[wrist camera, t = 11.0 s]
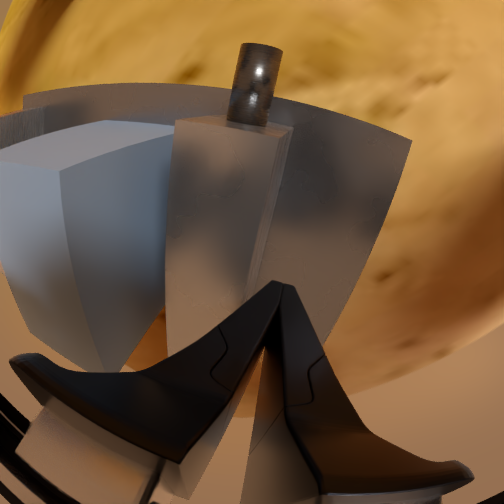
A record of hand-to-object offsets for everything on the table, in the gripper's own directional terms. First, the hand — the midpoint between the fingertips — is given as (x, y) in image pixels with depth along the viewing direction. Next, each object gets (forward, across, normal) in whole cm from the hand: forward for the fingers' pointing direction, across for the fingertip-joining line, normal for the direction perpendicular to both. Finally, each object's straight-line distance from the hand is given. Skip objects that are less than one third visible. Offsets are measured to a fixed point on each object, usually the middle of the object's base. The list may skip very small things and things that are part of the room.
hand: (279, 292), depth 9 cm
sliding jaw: (+3, +2, 0) cm, 4 cm away
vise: (+4, +8, 0) cm, 9 cm away
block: (+3, +8, 0) cm, 8 cm away
